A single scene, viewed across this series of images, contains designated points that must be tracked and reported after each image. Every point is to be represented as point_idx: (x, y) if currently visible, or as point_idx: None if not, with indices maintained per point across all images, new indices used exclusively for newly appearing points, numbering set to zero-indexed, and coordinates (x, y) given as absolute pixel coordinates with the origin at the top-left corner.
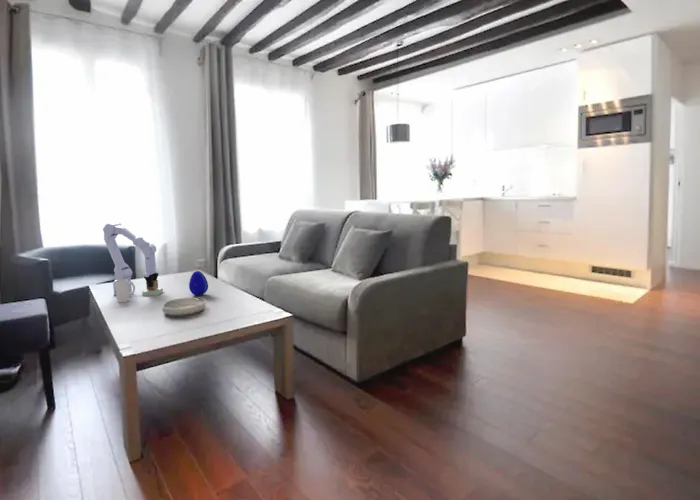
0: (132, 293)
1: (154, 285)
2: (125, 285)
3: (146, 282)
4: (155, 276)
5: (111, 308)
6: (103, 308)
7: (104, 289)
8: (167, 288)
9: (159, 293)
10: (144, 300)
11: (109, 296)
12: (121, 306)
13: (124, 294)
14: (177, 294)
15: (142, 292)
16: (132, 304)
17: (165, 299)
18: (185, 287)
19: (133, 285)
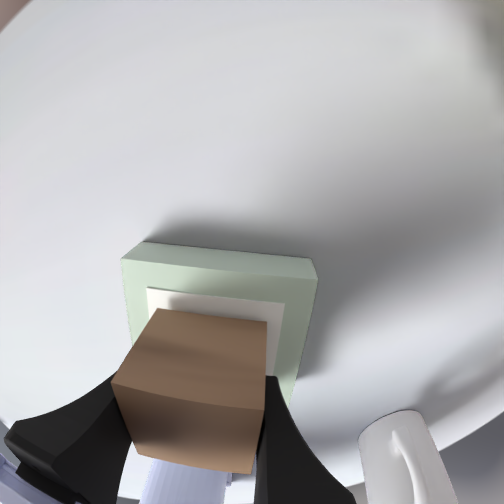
0: (410, 435)
1: (265, 366)
2: (454, 496)
3: (250, 467)
4: (90, 449)
5: (497, 403)
6: (476, 428)
7: (122, 487)
8: (32, 234)
9: (250, 255)
10: (452, 321)
11: (250, 487)
12: (497, 383)
13: (437, 450)
14: (308, 36)
15: (287, 405)
16: (498, 352)
17: (485, 145)
18: (21, 78)
19: (426, 483)
